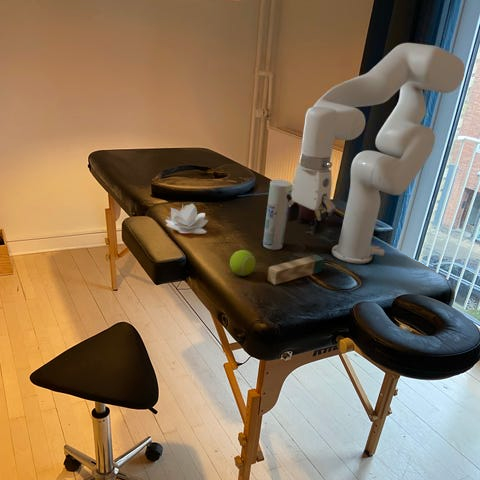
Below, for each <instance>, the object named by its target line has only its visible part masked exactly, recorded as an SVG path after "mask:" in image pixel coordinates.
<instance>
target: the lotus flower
mask: <svg viewBox="0 0 480 480" xmlns="http://www.w3.org/2000/svg"><path fill="white" fill-rule="evenodd" d="M205 218H206V212H200V213H198V211H197V207H196V206H195V205H194V204H193V203H190V204H186V205H184V204H183V203H182V205H181V209H180V210H179V209H176V208H173V207H170V217H169V216H167V219H165V222H166V224H165V227H168V228H169V229H172V230H175V231H177V232H178V233H180V234H194V235H203V234H206V233H207V231H206V229H203V227H204V226H206V225H207V223H208V222H209V220H208V219H205Z"/></svg>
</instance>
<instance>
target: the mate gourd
mask: <svg viewBox="0 0 480 480" xmlns="http://www.w3.org/2000/svg"><path fill="white" fill-rule="evenodd" d="M299 207H300V208H299V216H300V221H299V223H300V224H305V223H306V224H308V225H310V226H314V223H315V219H317V217H316V214H315V211H314V210H311V209H309V208H307V207H304V206H302V205H300V204H299Z"/></svg>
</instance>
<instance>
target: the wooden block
mask: <svg viewBox="0 0 480 480" xmlns="http://www.w3.org/2000/svg"><path fill="white" fill-rule="evenodd" d="M324 262H325V258H324V257H322V256H319V255H318V254H313V255H308V256H305V257H302V258H298V259H294V260H290V261H286V262H281V263H279V264H275V265H271V266H269V267H268V272H267V277H266V279H267V282H270V283H271V284H273V285H274V286H277V285H279V284H282V283H283V284H284V283H287V282H289V281H293V280H297V279H300V278H303V277H306V276H310V275H315V274H318V273H322V272H323V267H324Z"/></svg>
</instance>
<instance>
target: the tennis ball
mask: <svg viewBox="0 0 480 480" xmlns="http://www.w3.org/2000/svg"><path fill="white" fill-rule="evenodd" d="M256 264H257V262H256V258H255V256H254V255H253V253H252V252H250V251H248V250H246V249H240V250H237V251H235V252H233V253H232V255H231V257H230V259H229V266H230V269H231V271H232V272H233V273H234V274H235V275H237V276H240V277H245V276H249V275H250V274H251V273H253V272H254V270H255V268H256Z"/></svg>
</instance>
